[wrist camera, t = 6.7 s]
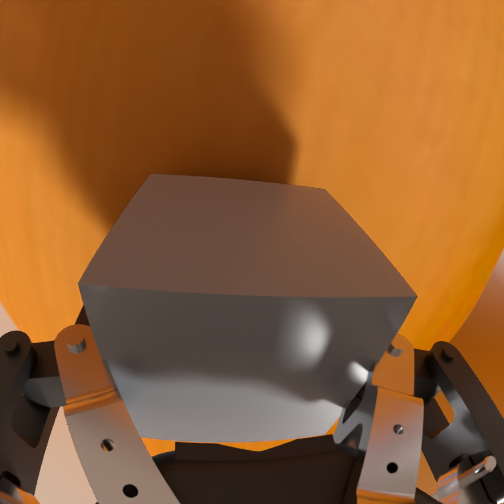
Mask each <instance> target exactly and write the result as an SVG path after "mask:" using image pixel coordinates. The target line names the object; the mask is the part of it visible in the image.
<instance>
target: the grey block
mask: <svg viewBox="0 0 504 504" xmlns="http://www.w3.org/2000/svg"><path fill="white" fill-rule="evenodd" d="M78 285H79V289H80V293H81V297H82V300H83V304H84V307H85V311H86V314H87V318H88V321H89V324H90V327H91V330H92V333H93V336H94V339H95V342H96V345H97V348H98V351H99V354H100V356H101V359H106V360H107V363H108V366H109V368H110V371H111V374H112V376H113V379H114V381H115V384H116V386H117V388H118V390H119V393H120V395H121V397H122V400H123V402H124V404H125V406H126V409H127V411H128V413H129V415H130V417H131V419H132V421H133V423H134V425H135V428H136V430H137V432H138V433H139V435H140V437H144V438H153V439H162V440H174V441H190V442H256V441H272V440H283V439H293V438H302V437H310V436H317V435H323V434H326V432H327V431H328V430H329V429H330V428H331V426H332V425H333V424H334V423H335V422H336V420H337V419H338V418H339V417H340V415H341V411H342V408H343V406H344V405H345V404H346V402H347V401H348V400H353V399H354V397H355V396H356V394H357V393H358V392H359V390H360V389H361V388H362V386H363V385H364V383H365V382H366V381H367V375H368V371H369V369H370V368H371V366H372V365H373V363H374V362H375V361H377V360H381V358H382V357H383V355H384V354H385V352H386V351H387V349H388V347H389V346H390V344H391V342H392V341H393V339H394V338H395V336H396V334H397V332H398V331H399V329H400V327H401V326H402V324H403V322H404V320H405V319H406V317H407V315H408V313H409V311H410V310H411V308H412V306H413V304H414V302H415V300H416V298H417V295H416V293H415V292H414V291H413V290H412V288H411V287H410V286H409V284H408V283H407V282H406V281H405V279H404V278H403V277H402V276H401V274H400V273H399V272H398V271H397V269H396V268H395V267H394V266H393V265H392V263H391V262H390V261H389V260H388V259H387V257H386V256H385V255H384V254H383V253H382V251H381V250H380V249H379V248H378V247H377V246H376V244H375V243H374V242H373V241H372V240H371V239H370V237H369V236H368V235H367V234H366V233H365V232H364V231H363V230H362V228H361V227H360V226H359V225H358V224H357V223H356V222H355V221H354V220H353V218H352V217H351V216H350V215H349V214H348V213H347V212H346V211H345V210H344V209H343V208H342V207H341V206H340V204H339V203H338V202H337V201H336V200H335V199H334V198H333V197H332V196H331V195H330V194H329V193H328V192H327V191H326V190H325V189H320V188H313V187H305V186H297V185H289V184H281V183H272V182H262V181H252V180H241V179H230V178H217V177H203V176H187V175H166V174H150V175H149V176H148V178H147V179H146V180H145V182H144V183H143V184H142V186H141V187H140V188H139V190H138V191H137V192H136V194H135V195H134V196H133V198H132V199H131V201H130V202H129V203H128V205H127V206H126V208H125V209H124V211H123V212H122V214H121V215H120V216H119V218H118V219H117V221H116V222H115V224H114V225H113V227H112V228H111V230H110V231H109V233H108V234H107V236H106V238H105V239H104V241H103V242H102V244H101V245H100V247H99V249H98V250H97V252H96V254H95V255H94V257H93V258H92V260H91V262H90V264H89V265H88V267H87V269H86V270H85V272H84V274H83V276H82V277H81V279H80V281H79V283H78Z"/></svg>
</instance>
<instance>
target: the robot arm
mask: <svg viewBox="0 0 504 504" xmlns="http://www.w3.org/2000/svg"><path fill="white" fill-rule="evenodd" d="M441 390H442V391H443V393H444V395H445V397H446V398H447V400H448V401H449V403H450V405H451V407H452V408H453V410H454V415H455V417H454V420H453V422H452V423H451V424H449V423H448V421H447V419H446V418H445V416H444V414H443V412H442V411H441V409H440V407H439V405H438V403H437V402H436V400H435V398H434V397H435V396H436V395H437V394H438V393H439V392H440V391H441ZM60 406H63V409H64V414H65V418H66V421H67V425H68V428H69V431H70V434H71V437H72V440H73V443H74V446H75V449H76V452H77V454H78V457H79V459H80V462H81V464H82V467H83V469H84V472H85V475H86V477H87V479H88V482H89V484H90V486H91V488H92V490H93V492H94V495H95V497H96V499H97V501H98V502H96V504H500V503H502V502H504V419H503V417H502V415H501V414H500V412H499V411H498V409H497V407H496V406H495V404H494V402H493V401H492V399H491V398H490V396H489V394H488V393H487V391H486V390H485V389H484V387H483V385H482V384H481V382H480V381H479V379H478V378H477V377H476V375H475V373H474V372H473V371H472V369H471V368H470V366H469V365H468V363H467V362H466V361H465V359H464V358H463V356H462V355H461V354H460V352H459V351H458V350H457V349H456V348H455V347H454V346H453V345H451V344H450V343H448V342H444V341H439V342H436V343H435V344H434V345H433V347H432V348H431V349H430V351H425V350H419V349H413V346H412V344H411V343H410V342H409V341H408V339H406V338H405V337H404V336H402V335H400V334H398V333H397V334H396V336H395V338H394V339H393V341H392V342H391V344H390V346H389V347H388V349H387V351H386V352H385V354H384V355H383V357H382V358H381V360H377V361H375V362H374V363H373V365H372V366H371V368H370V369H369V371H368V375H367V381H366V382H365V383H364V385H363V386H362V388H361V389H360V390H359V392H358V393H357V394H356V396H355V397H354V399H353V400H348V401H347V402H346V404H345V405H344V406H343V408H342V411H341V415H340V418H339V422H338V425H337V428H336V431H335V433H334V435H332V434H330V435H324V436H318V437H311V438H303V439H296V440H294V441H291V442H288V443H285V444H282V445H279V446H276V447H273V448H270V449H267V450H264V451H250V450H245V449H239V448H234V447H229V446H225V445H220V444H214V443H186V442H175V451H170V452H165V453H162V454H158V455H156V456H153V457H151V456H150V454H149V452H148V451H147V449H146V447H145V445H144V443H143V441H142V439H141V437H140V435H139V433H138V432H137V430H136V428H135V425H134V423H133V421H132V419H131V417H130V415H129V413H128V411H127V409H126V406H125V404H124V402H123V400H122V397H121V395H120V393H119V390H118V388H117V386H116V384H115V381H114V379H113V376H112V374H111V371H110V368H109V366H108V363H107V360H106V359H101V356H100V354H99V351H98V348H97V345H96V342H95V339H94V336H93V333H92V330H91V327H90V324H89V321H88V318H87V314H86V311H85V307H84V305H83V307H82V309H81V312H80V314H79V316H78V318H77V320H76V323H75V325H71V326H68V327H66V328H64V329H63V330H62V331H61V332H59V334H58V335H57V337H56V339H55V340H54V341H48V342H39V343H32V342H31V340H30V338H29V337H28V335H27V334H26V333H24V332H22V331H11V332H8V333H6V334H4V335H3V336H2V337H1V338H0V504H39V502H38V500H37V499H36V498H35V497H34V493H35V489H36V484H37V480H38V476H39V472H40V468H41V464H42V461H43V457H44V453H45V450H46V447H47V443H48V440H49V437H50V434H51V431H52V427H53V425H54V422H55V418H56V416H57V413H58V410H59V408H60ZM421 450H422V452H423V454H424V456H425V458H426V460H427V462H428V464H429V466H430V469H431V471H432V473H433V475H434V478H435V480H436V482H437V487H436V488H435V489H433V490H432V493H431V496H430V495H428V494H426V493H425V492H423V491H422V490H420V489H418V488H417V487H416V484H417V478H418V471H419V463H420V455H421Z"/></svg>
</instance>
